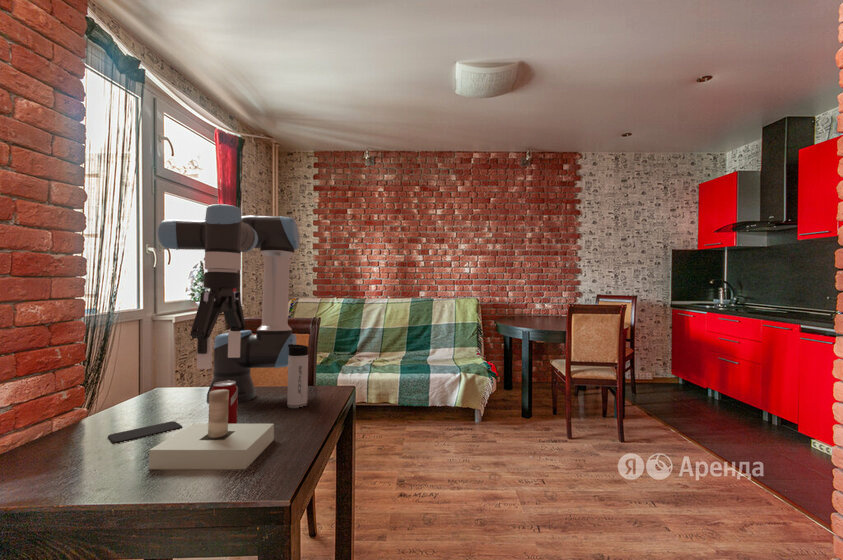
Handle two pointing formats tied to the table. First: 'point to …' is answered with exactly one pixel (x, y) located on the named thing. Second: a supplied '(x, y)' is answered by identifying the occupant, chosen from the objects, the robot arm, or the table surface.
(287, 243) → the robot arm
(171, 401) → the table surface
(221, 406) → the peg
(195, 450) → the board
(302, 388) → the travel mug
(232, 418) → the soda can
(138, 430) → the phone
